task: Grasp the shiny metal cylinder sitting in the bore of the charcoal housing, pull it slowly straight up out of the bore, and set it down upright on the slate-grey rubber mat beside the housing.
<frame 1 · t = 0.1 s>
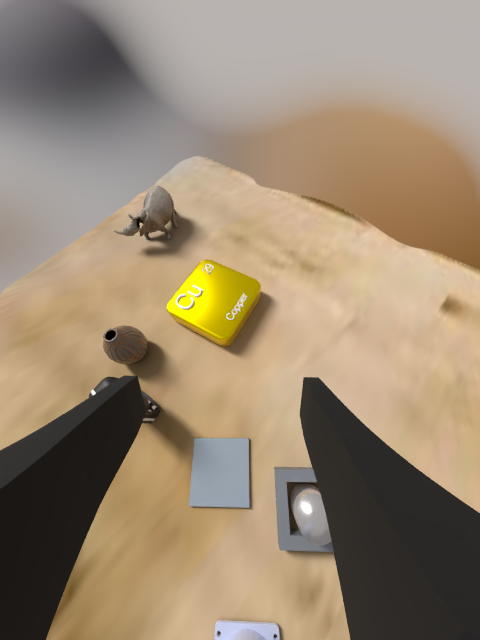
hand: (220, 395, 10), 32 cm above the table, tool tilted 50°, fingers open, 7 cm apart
rhinoceros figurine: (160, 233, 59), on the table
vase: (136, 351, 45), on the table
housing: (306, 503, 33), on the table
shiny metal cylinder: (306, 503, 33), resting in housing
mat: (220, 470, 36), on the table
battery charger: (146, 403, 41), on the table
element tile: (217, 306, 49), on the table
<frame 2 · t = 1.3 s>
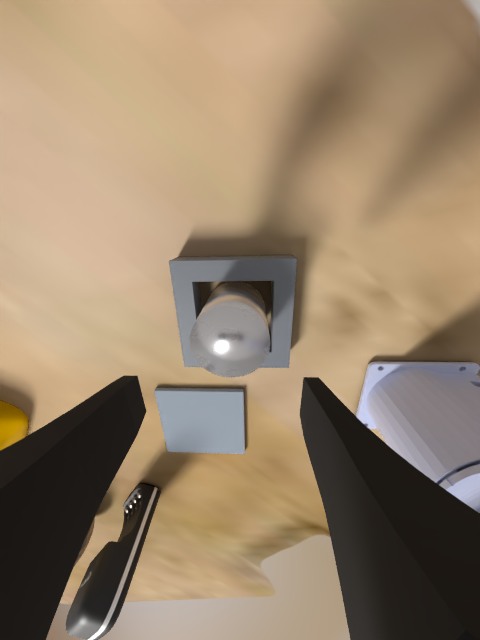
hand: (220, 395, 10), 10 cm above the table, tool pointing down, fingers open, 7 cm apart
housing: (235, 310, 19), on the table
shiny metal cylinder: (235, 309, 19), resting in housing
mat: (203, 420, 25), on the table
battery charger: (141, 492, 31), on the table
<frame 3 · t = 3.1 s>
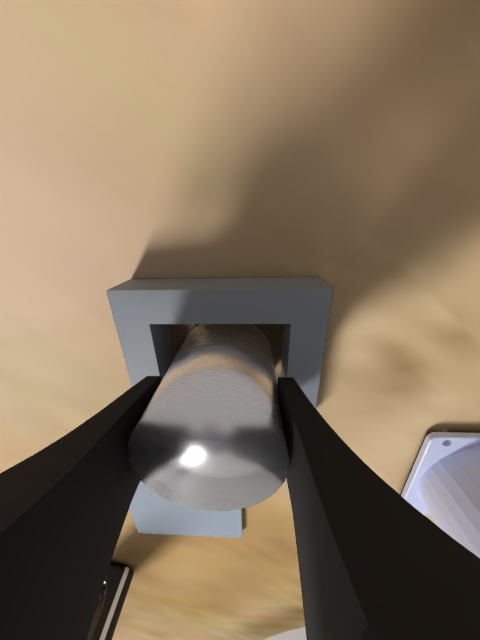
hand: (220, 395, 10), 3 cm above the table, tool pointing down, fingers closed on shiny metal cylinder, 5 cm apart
housing: (227, 358, 12), on the table
shiny metal cylinder: (227, 357, 12), resting in housing, touching gripper
mat: (184, 497, 18), on the table
battery charger: (109, 569, 24), on the table
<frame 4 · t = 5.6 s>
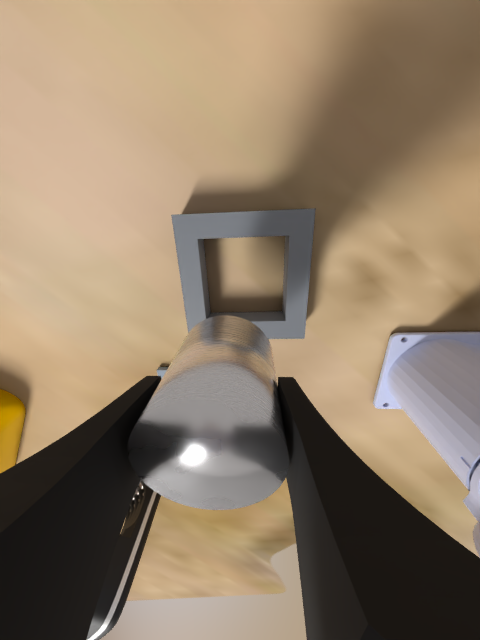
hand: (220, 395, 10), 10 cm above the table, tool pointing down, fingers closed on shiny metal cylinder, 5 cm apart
housing: (245, 276, 18), on the table
shiny metal cylinder: (227, 356, 12), point 7 cm above the table, touching gripper
battery charger: (144, 484, 29), on the table
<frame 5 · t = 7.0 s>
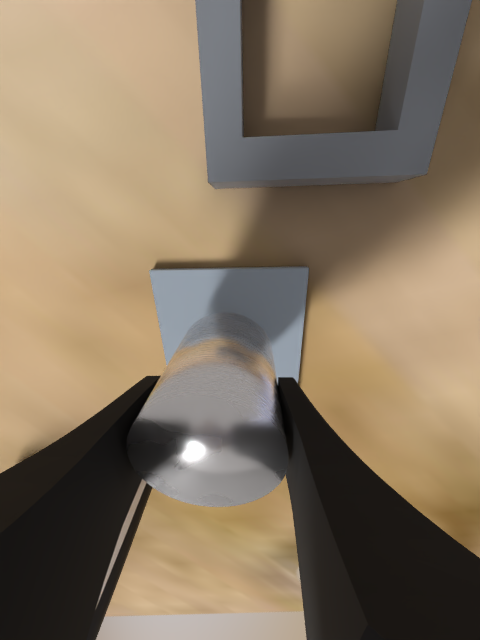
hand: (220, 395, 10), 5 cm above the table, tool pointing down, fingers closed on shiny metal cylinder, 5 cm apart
housing: (313, 62, 9), on the table
shiny metal cylinder: (226, 354, 12), point 3 cm above the table, touching gripper
mat: (231, 336, 15), on the table
battery charger: (131, 467, 21), on the table
when the fingers open (4 cm above the table, at t = 8.2 s): shiny metal cylinder stays where it is, resting on mat.
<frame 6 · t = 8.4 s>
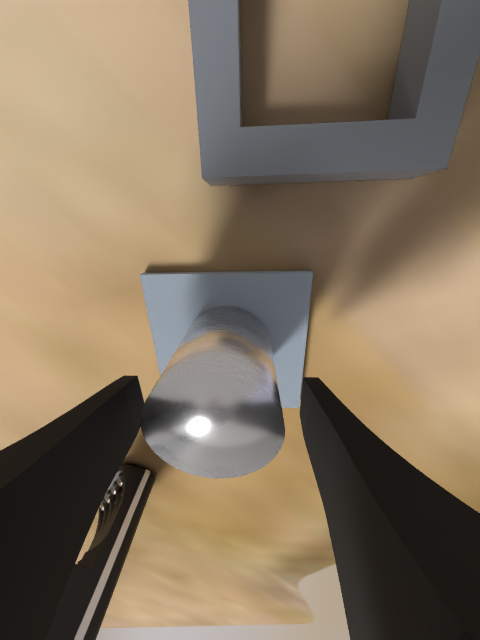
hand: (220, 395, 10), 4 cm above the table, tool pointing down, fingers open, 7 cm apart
housing: (320, 43, 8), on the table
shiny metal cylinder: (228, 345, 13), resting on mat
mat: (229, 344, 14), on the table
battery charger: (125, 479, 20), on the table
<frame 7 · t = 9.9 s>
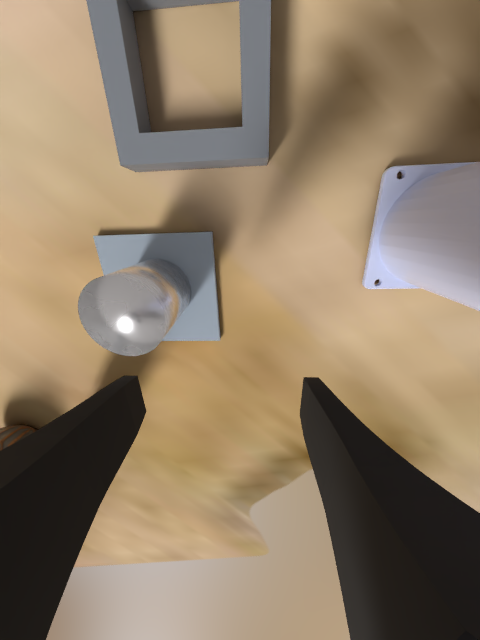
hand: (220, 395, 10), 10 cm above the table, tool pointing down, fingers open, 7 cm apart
vase: (30, 435, 28), on the table
housing: (192, 79, 13), on the table
shiny metal cylinder: (161, 289, 18), resting on mat
mat: (163, 290, 19), on the table
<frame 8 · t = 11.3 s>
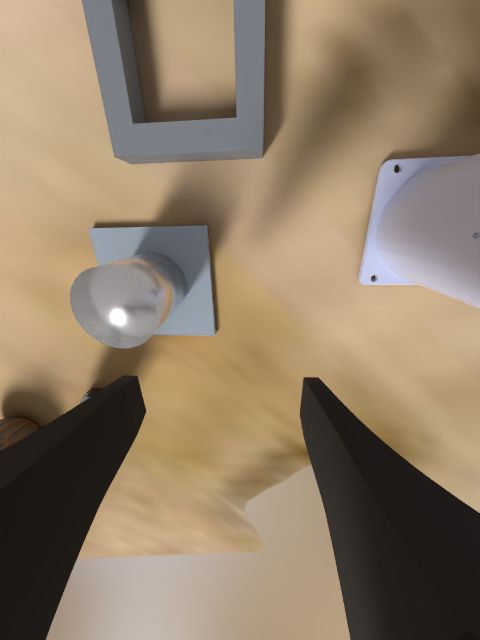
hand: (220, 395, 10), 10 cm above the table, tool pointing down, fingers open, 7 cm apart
vase: (27, 427, 28), on the table
housing: (187, 70, 13), on the table
shiny metal cylinder: (156, 283, 18), resting on mat
mat: (159, 284, 19), on the table
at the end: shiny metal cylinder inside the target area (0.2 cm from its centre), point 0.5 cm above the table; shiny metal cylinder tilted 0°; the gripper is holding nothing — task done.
